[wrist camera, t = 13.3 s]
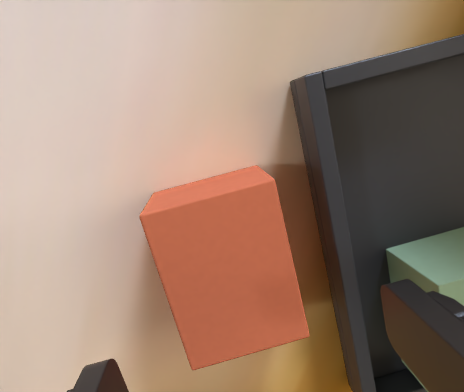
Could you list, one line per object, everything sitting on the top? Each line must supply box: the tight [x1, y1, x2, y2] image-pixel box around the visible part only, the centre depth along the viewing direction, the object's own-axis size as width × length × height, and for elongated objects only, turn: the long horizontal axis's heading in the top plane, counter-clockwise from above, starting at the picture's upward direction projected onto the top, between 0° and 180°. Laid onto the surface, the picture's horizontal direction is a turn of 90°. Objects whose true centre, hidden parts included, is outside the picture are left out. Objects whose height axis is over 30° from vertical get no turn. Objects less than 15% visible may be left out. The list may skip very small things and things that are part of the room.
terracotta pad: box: [140, 166, 309, 370], centre depth 15 cm, size 6×8×4 cm
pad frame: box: [290, 34, 464, 392], centre depth 17 cm, size 12×19×2 cm, turn 14°
